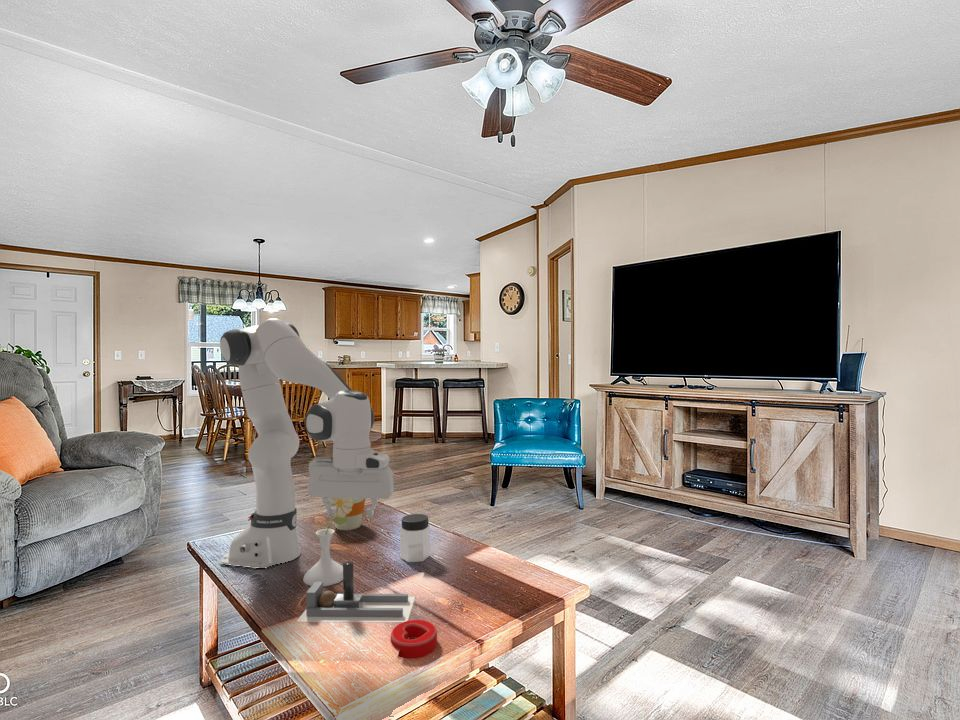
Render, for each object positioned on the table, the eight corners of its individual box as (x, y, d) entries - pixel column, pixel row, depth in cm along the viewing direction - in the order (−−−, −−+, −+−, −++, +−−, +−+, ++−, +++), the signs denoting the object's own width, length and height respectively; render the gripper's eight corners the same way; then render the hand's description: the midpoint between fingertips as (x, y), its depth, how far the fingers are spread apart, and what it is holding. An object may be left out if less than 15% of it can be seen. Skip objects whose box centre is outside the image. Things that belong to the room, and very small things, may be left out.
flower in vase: (306, 596, 125) (305, 498, 125) (300, 578, 135) (299, 488, 135) (357, 585, 131) (357, 491, 131) (348, 569, 141) (347, 482, 141)
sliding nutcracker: (296, 628, 110) (296, 599, 110) (315, 601, 122) (315, 575, 122) (407, 628, 109) (407, 599, 109) (415, 602, 121) (415, 576, 121)
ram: (333, 610, 114) (333, 566, 114) (338, 603, 117) (337, 560, 117) (359, 610, 114) (358, 566, 114) (362, 604, 117) (362, 560, 117)
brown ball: (317, 613, 114) (314, 596, 114) (323, 605, 118) (320, 588, 118) (334, 611, 113) (331, 594, 113) (339, 602, 117) (337, 586, 117)
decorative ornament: (444, 651, 101) (444, 636, 101) (399, 665, 96) (399, 649, 96) (426, 628, 109) (426, 614, 109) (384, 640, 105) (384, 626, 105)
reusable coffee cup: (323, 531, 173) (323, 488, 173) (339, 519, 185) (339, 480, 185) (357, 532, 171) (357, 490, 171) (371, 521, 183) (370, 481, 183)
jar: (434, 558, 148) (434, 518, 148) (411, 565, 143) (411, 524, 143) (418, 549, 155) (418, 511, 155) (396, 556, 150) (396, 517, 150)
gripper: (304, 459, 115) (302, 518, 115) (390, 461, 114) (389, 521, 114) (313, 454, 121) (312, 510, 121) (395, 456, 120) (394, 512, 120)
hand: (350, 515), depth 117 cm, fingers open, 8 cm apart
